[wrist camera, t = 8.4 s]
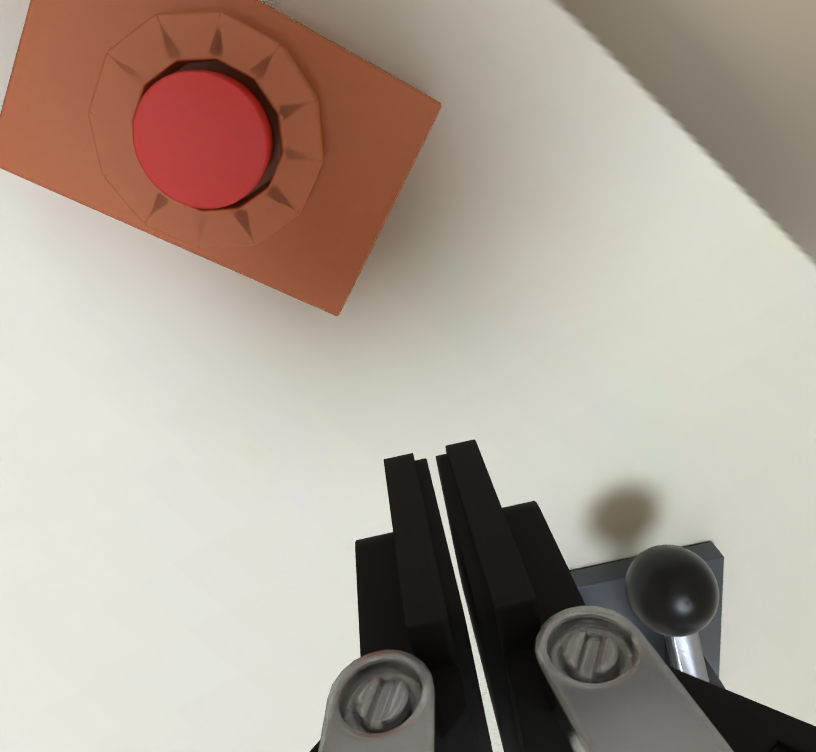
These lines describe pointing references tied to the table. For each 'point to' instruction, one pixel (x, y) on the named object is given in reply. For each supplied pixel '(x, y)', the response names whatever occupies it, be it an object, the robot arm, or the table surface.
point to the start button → (202, 138)
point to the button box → (282, 101)
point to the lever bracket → (609, 592)
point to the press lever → (674, 601)
